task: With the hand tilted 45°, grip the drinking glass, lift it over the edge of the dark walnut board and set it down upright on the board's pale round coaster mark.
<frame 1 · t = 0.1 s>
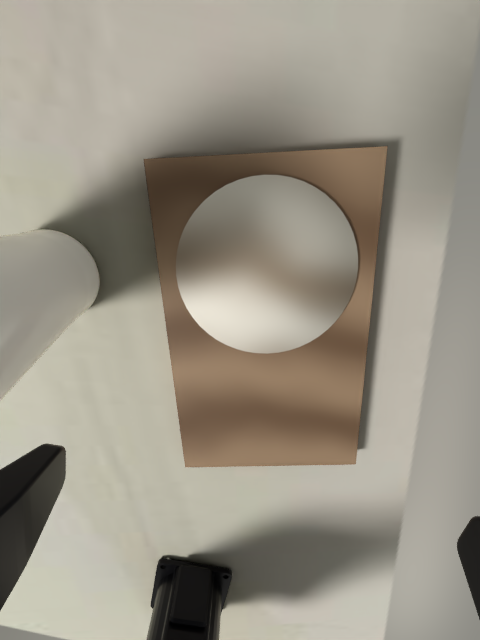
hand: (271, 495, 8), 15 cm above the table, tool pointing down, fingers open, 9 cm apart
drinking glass: (60, 272, 21), on the table
walnut board: (266, 329, 22), on the table
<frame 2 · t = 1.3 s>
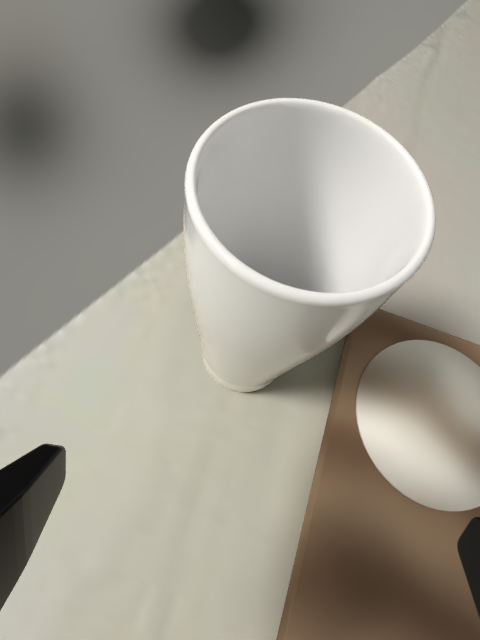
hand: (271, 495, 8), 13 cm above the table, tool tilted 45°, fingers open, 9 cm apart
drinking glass: (241, 353, 23), on the table
walnut board: (414, 485, 21), on the table
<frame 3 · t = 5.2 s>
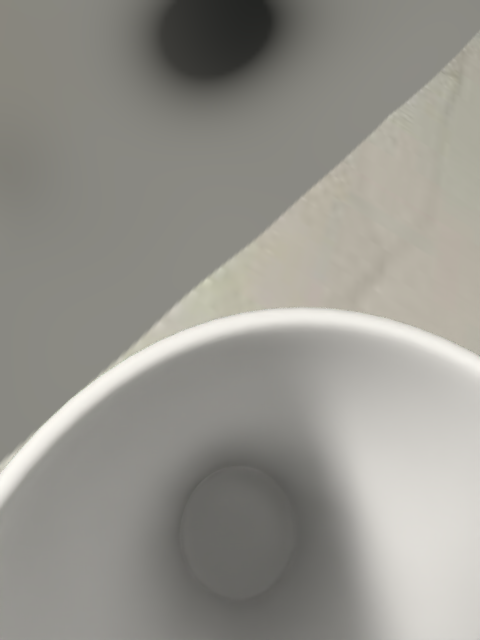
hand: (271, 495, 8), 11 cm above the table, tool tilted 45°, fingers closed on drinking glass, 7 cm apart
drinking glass: (235, 524, 16), point 1 cm above the table, touching gripper
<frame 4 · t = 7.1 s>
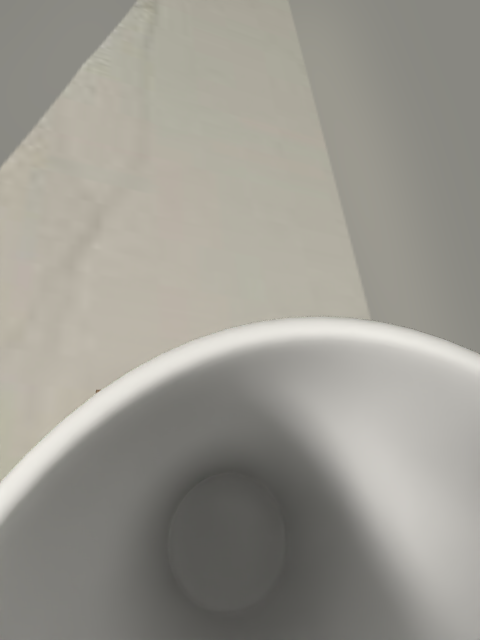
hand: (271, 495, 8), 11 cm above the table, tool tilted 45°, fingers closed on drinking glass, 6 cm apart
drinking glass: (225, 532, 16), point 1 cm above the table, touching gripper, walnut board
when the fingers open (11 cm above the table, at t = 8.1 s): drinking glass stays where it is, resting on walnut board.
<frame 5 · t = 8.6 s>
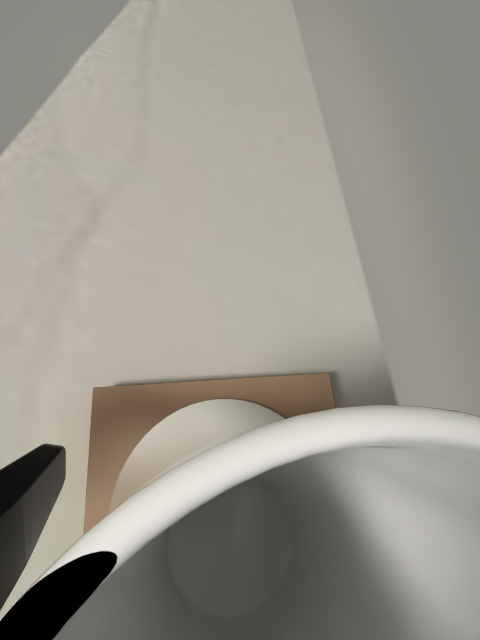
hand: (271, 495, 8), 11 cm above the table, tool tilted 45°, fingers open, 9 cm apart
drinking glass: (225, 533, 15), point 1 cm above the table, touching walnut board
walnut board: (229, 612, 15), on the table
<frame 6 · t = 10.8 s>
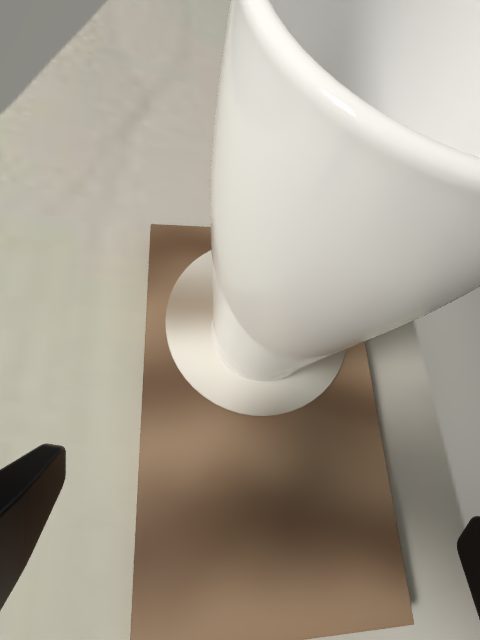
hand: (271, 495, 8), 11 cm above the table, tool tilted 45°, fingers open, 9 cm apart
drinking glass: (259, 335, 19), point 1 cm above the table, touching walnut board
walnut board: (259, 399, 19), on the table
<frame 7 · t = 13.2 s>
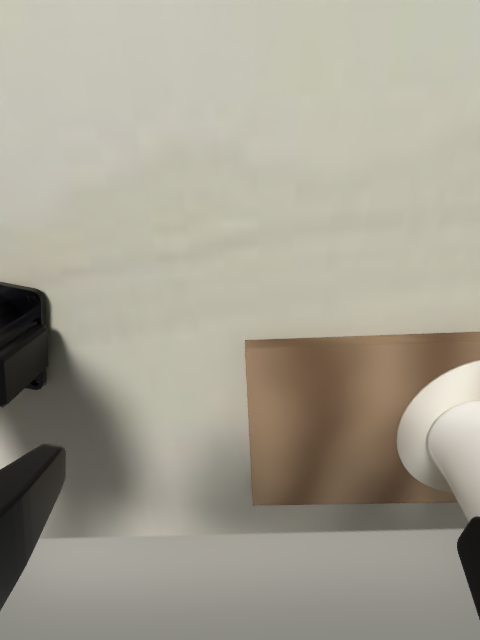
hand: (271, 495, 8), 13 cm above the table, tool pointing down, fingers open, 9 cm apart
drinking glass: (467, 429, 21), point 1 cm above the table, touching walnut board
walnut board: (405, 419, 22), on the table
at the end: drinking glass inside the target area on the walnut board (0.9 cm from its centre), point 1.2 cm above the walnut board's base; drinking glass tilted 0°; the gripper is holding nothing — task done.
